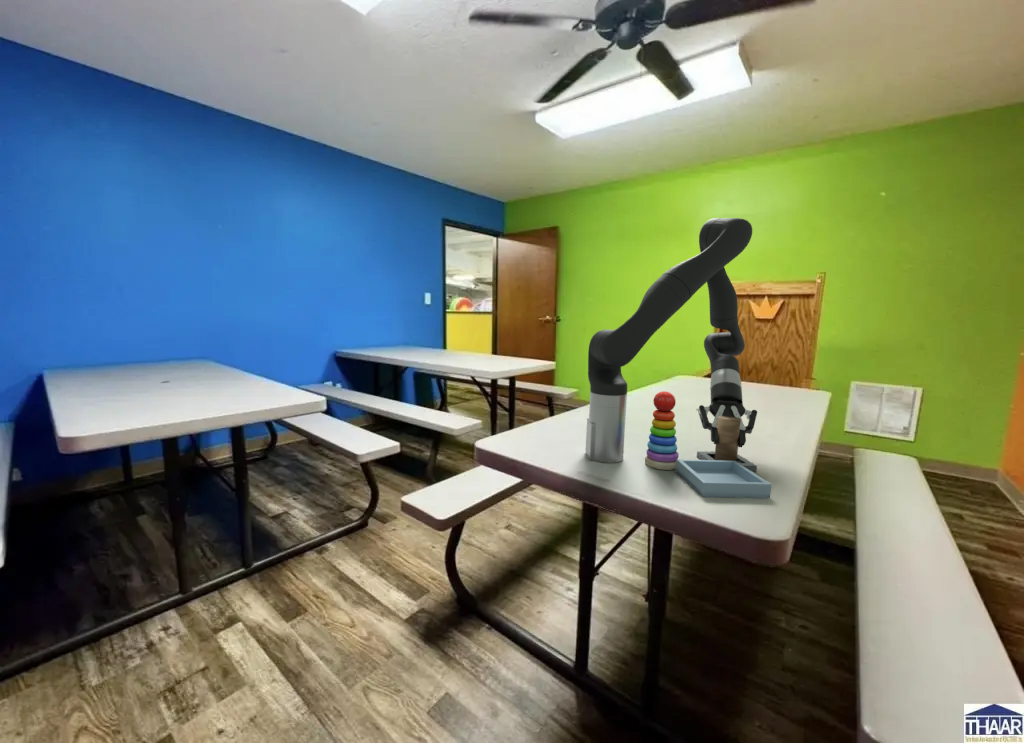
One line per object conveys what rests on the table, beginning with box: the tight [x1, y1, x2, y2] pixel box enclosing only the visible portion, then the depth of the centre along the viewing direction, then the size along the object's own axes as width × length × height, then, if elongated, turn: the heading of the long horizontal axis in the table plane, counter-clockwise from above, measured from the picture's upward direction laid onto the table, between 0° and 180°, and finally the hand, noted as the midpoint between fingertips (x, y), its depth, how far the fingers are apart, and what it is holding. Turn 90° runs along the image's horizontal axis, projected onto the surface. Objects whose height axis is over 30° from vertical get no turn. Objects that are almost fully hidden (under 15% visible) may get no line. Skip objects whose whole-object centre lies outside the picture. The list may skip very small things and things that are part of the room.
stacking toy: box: [644, 391, 680, 471], centre depth 101 cm, size 8×8×19 cm
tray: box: [675, 458, 772, 499], centre depth 91 cm, size 14×14×3 cm
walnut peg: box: [714, 416, 741, 462], centre depth 103 cm, size 5×5×12 cm
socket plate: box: [696, 451, 758, 473], centre depth 104 cm, size 10×10×2 cm
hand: (728, 444), depth 101 cm, fingers closed on walnut peg, 5 cm apart
